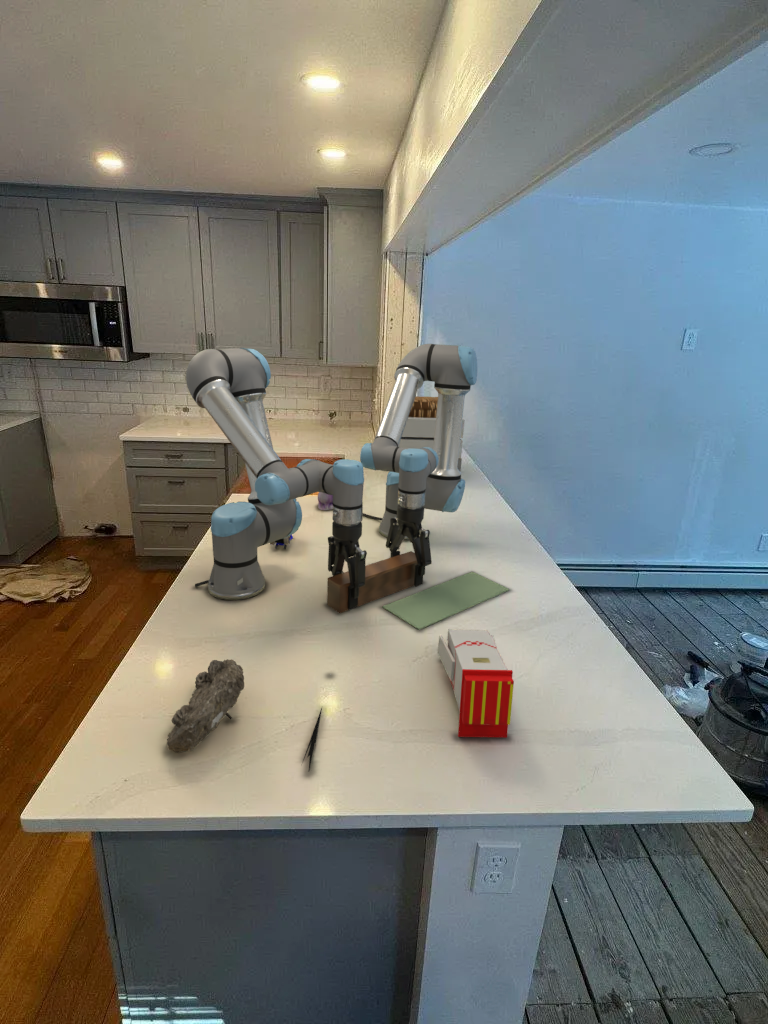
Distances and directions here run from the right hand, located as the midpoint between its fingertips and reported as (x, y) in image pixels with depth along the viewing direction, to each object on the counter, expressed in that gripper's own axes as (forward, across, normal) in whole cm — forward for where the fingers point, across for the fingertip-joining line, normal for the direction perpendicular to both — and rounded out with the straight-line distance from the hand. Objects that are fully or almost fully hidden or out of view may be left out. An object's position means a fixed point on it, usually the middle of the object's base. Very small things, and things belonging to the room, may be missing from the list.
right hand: (406, 578), depth 164 cm
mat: (+1, +14, +3) cm, 14 cm away
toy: (+1, +45, -23) cm, 51 cm away
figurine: (+1, -66, +19) cm, 69 cm away
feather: (+1, +33, -53) cm, 62 cm away
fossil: (+1, +20, -68) cm, 71 cm away
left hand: (+1, 0, -22) cm, 22 cm away
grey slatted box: (+1, -82, +84) cm, 118 cm away
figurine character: (+1, -45, -14) cm, 47 cm away
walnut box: (+1, 0, -11) cm, 11 cm away
